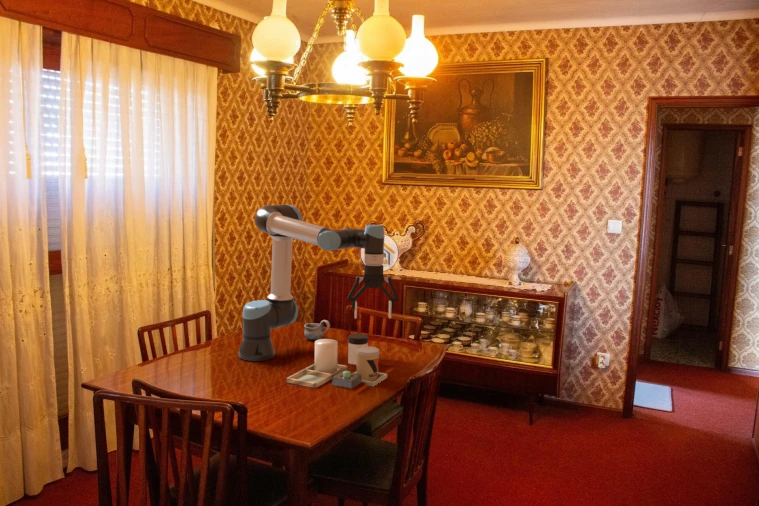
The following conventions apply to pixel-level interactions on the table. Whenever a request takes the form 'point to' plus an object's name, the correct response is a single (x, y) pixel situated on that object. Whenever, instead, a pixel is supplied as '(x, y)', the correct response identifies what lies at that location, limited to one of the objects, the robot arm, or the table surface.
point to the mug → (315, 330)
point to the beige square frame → (370, 383)
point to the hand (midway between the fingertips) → (372, 317)
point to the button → (346, 374)
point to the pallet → (313, 377)
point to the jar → (355, 346)
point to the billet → (326, 355)
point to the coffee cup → (367, 362)
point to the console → (346, 380)
